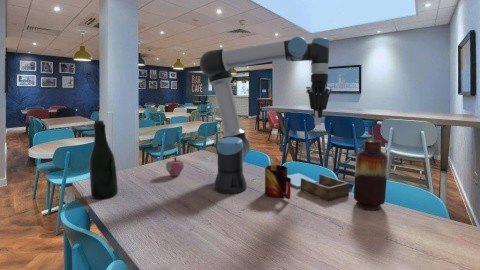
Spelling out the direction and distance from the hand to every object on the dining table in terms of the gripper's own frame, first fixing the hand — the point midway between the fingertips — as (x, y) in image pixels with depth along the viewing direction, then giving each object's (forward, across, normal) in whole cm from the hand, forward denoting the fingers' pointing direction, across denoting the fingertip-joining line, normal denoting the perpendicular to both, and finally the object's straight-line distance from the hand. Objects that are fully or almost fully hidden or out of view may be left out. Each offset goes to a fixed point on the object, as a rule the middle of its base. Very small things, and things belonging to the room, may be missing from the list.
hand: (317, 124), depth 127 cm
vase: (+30, -29, +2) cm, 42 cm away
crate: (+29, -10, +5) cm, 31 cm away
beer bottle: (+30, +39, +89) cm, 102 cm away
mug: (+30, -2, +24) cm, 38 cm away
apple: (+30, +50, +54) cm, 79 cm away
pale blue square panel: (+29, +7, +5) cm, 30 cm away
